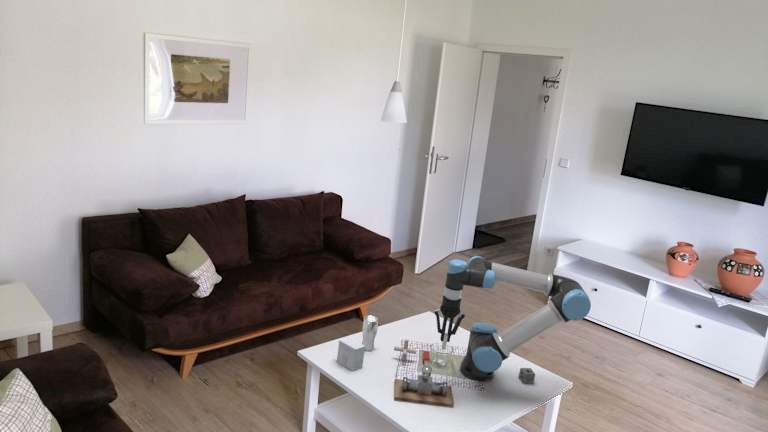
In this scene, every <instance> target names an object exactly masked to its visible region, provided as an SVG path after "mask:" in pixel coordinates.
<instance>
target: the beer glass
mask: <svg viewBox="0 0 768 432" xmlns="http://www.w3.org/2000/svg"><path fill="white" fill-rule="evenodd" d="M378 327H379V318H378V317H377V316H374V315H371V314H370V315H365V316H364V318H363V322H362V343H361V344H362V345H364V346H365V351H366V352H372V351H373V350H375V339H376V337H377V333H378V329H379V328H378ZM365 351H364V352H365Z"/></svg>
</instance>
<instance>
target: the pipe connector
mask: <svg viewBox="0 0 768 432" xmlns="http://www.w3.org/2000/svg"><path fill="white" fill-rule="evenodd" d="M393 350H394V351H397V352H402V355H401V356H402V357H401V361H402V362H405V361H406V360H407V355H408V353H410V354H414V355H415V354H417V349H414V348H409V339H408V338H404V342H403V347H402V346H395V345H394V348H393Z"/></svg>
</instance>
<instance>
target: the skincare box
mask: <svg viewBox="0 0 768 432" xmlns="http://www.w3.org/2000/svg"><path fill="white" fill-rule="evenodd" d="M364 356H365V346H364V345H362V343H361V342H359V341H357V340H355V339H353V338H351V337H349V336H347V337H344V338H342V339H339V340H338V349H337V357H336V363H338V364H340V365H342V366H343V367H345V368H347V369H348V370H350V371H352V372H354V371H356V370H359V369H362V368H363V365H364V359H365V358H364Z"/></svg>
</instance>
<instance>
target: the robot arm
mask: <svg viewBox="0 0 768 432" xmlns="http://www.w3.org/2000/svg"><path fill="white" fill-rule="evenodd" d="M495 282H499V283H503V284H507V285H511V286H515V287H518V288H519V287H520V288H523V289H528V290H533V291H536V292H540V293H543V294H544V296H546V297H547V296H548V297H550V298H549V299H548V303H547V304H546V305H543V306H542V307H541V308H539V309H538V310H536V311H534V312H533V313H531V314H529V315H527V316H526V317H524V318H523V319H522V320H519V321H518V322H516V323H514V324H513V325H511V326H509V327H508V328H506V329H505V330H503V331H501V332H500V333H498V331H499V330H498V328H497V326H494V325H492V324H489V323H487V322H486V323H484V322H476V323H472V325H471V328H470V332H469V338H468V344H467V348H466V354H465V356H464V357H463V359H462V361H461V363H460V366H459V371H460V373H461V375H463V376H465V377H466V378H468V379H470V380H474V381H477V382H478V381H479V382H486V381H487V382H488V381H491V379H493V378H494V373H495V372H496V371H498V370H499V369H500V368H501V367H502V364H503V362H504V361H505V360H507V359H509V357H510V354H511V352H513V351H515V350H516V349H517V348H519V347H521V346H522V345H525V344H526V343H528V342H529V341H531V340H532V339H534V338H536V337H537V336H539V335H540V334H543V333H544V332H545V331H547V330H549V329H550V328H553V327H554V326H556V325H558V324H559V323H563V324H566V323H569V322H570V321H580V320H582V319H585V318H586V317H587V316H588V314H589V313H590V311H591V307H592V306H591V305H592V304H591V300H590V299H591V298H589V295H588V293H586V291H585V290H584V289H583V287H582V285H581V284H580V282H578V281H576V280H575V279H572V278H569V277H565V276H562V275H560V274H559V275H558V274H554V273H549V274H544V273H539V272H536V271H530V270H526V269H523V268H518V267H514V266H509V265H505V264H501V263H497V262H492V261H489V260H485V259H484V258H483V257H482V256H479V255H475V256H472V257H471V258H469V260H468V262H466V261H465V260H461V259H451V260H450V261H449V263H448V266H447V271H446V278H445V284H444V291H443V295H442V302H441V305H440V306H439V308H438V309H436V308H434V310H433V311H434V315H435V317H436V318H435V319H436V325H437V326H436V328H437V333H438V334H440V339H439V340H440V342H441V343H442V344H441V350H443V351H444V350H445V351H446V349H447V344H448V343H450V341H451V336H454V335H456V333H457V332H458V329H459V327H460V324H461V322H462V320H463V319H464V318H465V317H466V315H465V312H462V311H461V302H462V297H463V291H464V286H465V287H466V286H469V287H474V288H479V289H480V288H481V289H489V290H490V289H493V288H494V286H495ZM441 314H442V316H443V321H442V326H441V320H440V315H441ZM457 316H458V317H457ZM456 317H457V319H456V321H455V324H454V319H455V318H456ZM448 319H449V323H448ZM447 323H448V326H447ZM453 324H454V326H453ZM446 327H448V328H447V329H446ZM446 330H447V332H446Z"/></svg>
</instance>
